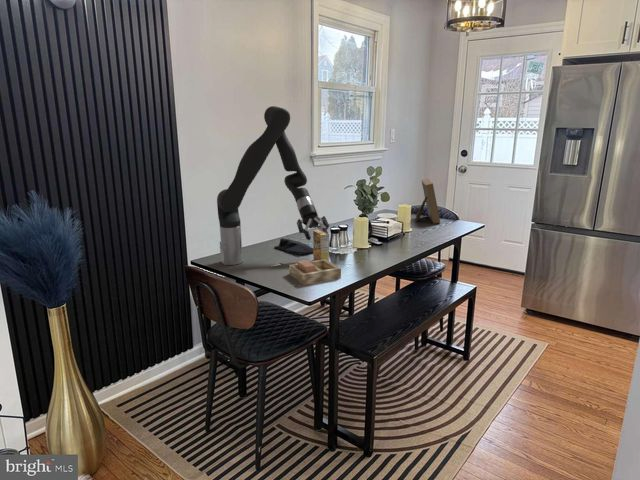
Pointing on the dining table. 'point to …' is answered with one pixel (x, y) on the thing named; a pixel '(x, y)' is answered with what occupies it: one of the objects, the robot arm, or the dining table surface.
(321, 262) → the wooden compartment tray
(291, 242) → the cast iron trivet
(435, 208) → the photo frame
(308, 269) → the reddish brown block
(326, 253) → the candy box
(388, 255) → the dining table surface
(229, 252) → the robot arm
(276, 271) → the dining table surface
